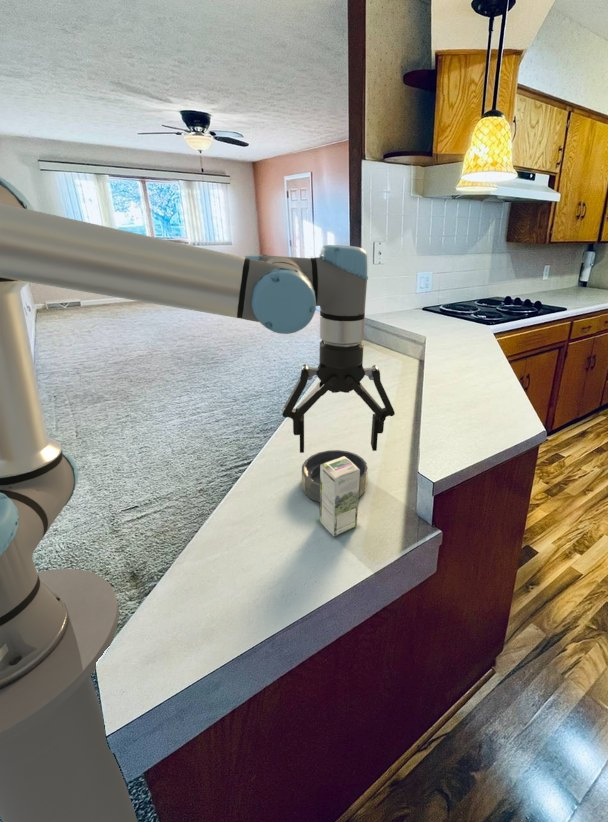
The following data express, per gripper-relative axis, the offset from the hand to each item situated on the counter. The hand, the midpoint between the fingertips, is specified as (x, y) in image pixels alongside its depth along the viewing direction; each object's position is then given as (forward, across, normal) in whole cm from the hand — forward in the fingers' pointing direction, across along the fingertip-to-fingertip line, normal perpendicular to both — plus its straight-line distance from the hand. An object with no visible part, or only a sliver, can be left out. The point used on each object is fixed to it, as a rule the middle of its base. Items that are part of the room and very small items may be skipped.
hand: (338, 448), depth 78 cm
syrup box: (+19, 0, 0) cm, 19 cm away
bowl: (+18, 0, -14) cm, 23 cm away
